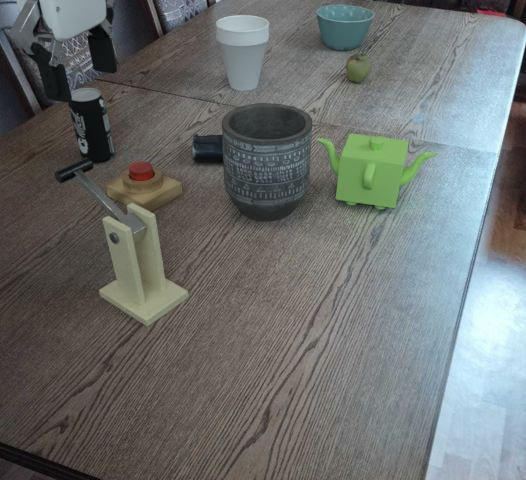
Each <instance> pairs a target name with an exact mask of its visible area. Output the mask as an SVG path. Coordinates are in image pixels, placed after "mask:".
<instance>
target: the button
mask: <svg viewBox="0 0 526 480" xmlns="http://www.w3.org/2000/svg"><path fill="white" fill-rule="evenodd" d="M152 165H153V164H152V163H150V162H148V161H137V162H133V163H131V164H130V165H129V167H128V168H129V172H130V178H131V179H132V180H134V181H145V180H149V179H151V178H153V176H154V174H153V168H152Z"/></svg>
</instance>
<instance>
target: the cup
mask: <svg viewBox="0 0 526 480" xmlns="http://www.w3.org/2000/svg"><path fill="white" fill-rule="evenodd" d="M215 38H216V40H217V42H218V45H219V48H220V53H221V56H222V61H223V64H224V69H225V72H226V76H227V80H228V83H229V88H231V90H235V91H238V92H250V91H252V90H255V89H257V88H258V85H259V81H260V77H261V72H262V67H263V63H264V57H265V54H266V49H267V44H268V41H269V40H270V22H269V20H267V19H266V18H264V17H262V16H258V15H252V14H235V15H228V16H224V17H221V18H219V19H218V20H216V21H215Z"/></svg>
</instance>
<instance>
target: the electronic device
mask: <svg viewBox="0 0 526 480" xmlns="http://www.w3.org/2000/svg"><path fill="white" fill-rule="evenodd" d="M192 137H193V138H192V143H191V150H192V160H193V161H194V162H195V163H200V162H205V163H218V162H220V163H224V161H223V141H222V134H208V135H199V134H198V133H195V132H193V136H192Z"/></svg>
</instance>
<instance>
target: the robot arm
mask: <svg viewBox="0 0 526 480" xmlns="http://www.w3.org/2000/svg"><path fill="white" fill-rule="evenodd" d="M15 2H16V6H17V11H18V15H17V18H15V21H14V22H13V24H12V25H11V29H10V30H11V34H12V36H13V37H14V39H15V40H16V42H17V43H18V44H19V46H20V47H21V50H22V52H23V53H24V54H25V55H26V56H27V57H28V58H30V60H31V62H32V63H33V64H34V65H37V69H38V72H39V75H40V79H41V83H42V87H43V91H44V95H45V97H46V99H47V100H51V101H56V102H61V103H69V102H70V101H71V100H72V96H71V92H72V91H71V89H70V84H69V79H68V75H67V71H66V67H65V65H64V64H63V63H60V60H61V55H62V48H63V43H66V42H68V41H70V40H72V39H75V38H77V37H78V36H80V35H82V34H84V33H86V32H89V34H88V35H86V38H87V45H88V48H89V49H88V50H89V54H90V59H91V64H92V69H93V70H94V71H96V72H100V73H107V74H116V73H117V72H118V66H117V61H116V60H117V59H116V55H115V50H114V43H113V38H112V37H113V36H114V27H113V26H112V24H113V20H114V16H115V11H114V9H113V8H114V0H15ZM46 43H50V44H49V50H47V48H46V47H45V46H46Z"/></svg>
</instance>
